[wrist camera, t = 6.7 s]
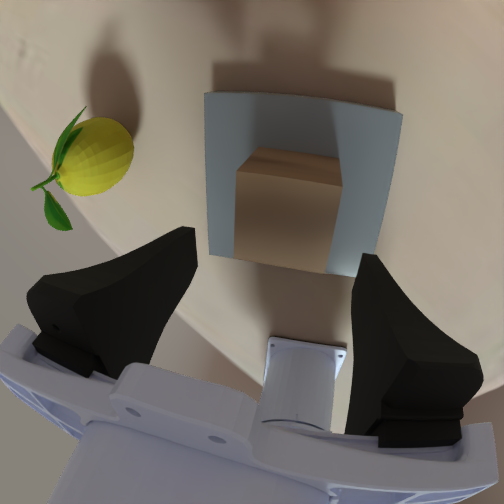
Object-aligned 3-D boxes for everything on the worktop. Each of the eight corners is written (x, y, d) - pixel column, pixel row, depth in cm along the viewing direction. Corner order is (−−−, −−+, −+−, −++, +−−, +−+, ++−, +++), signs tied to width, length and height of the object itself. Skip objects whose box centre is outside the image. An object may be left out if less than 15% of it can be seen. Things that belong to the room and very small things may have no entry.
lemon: (121, 191, 25) (43, 253, 17) (85, 142, 23) (-2, 187, 15) (171, 147, 22) (84, 202, 13) (128, 91, 20) (28, 119, 11)
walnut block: (326, 229, 20) (324, 274, 16) (253, 217, 21) (233, 258, 17) (339, 158, 17) (342, 187, 13) (258, 146, 18) (236, 171, 14)
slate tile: (364, 263, 23) (366, 279, 22) (217, 241, 25) (209, 254, 24) (395, 110, 16) (402, 114, 15) (215, 91, 19) (204, 93, 17)
